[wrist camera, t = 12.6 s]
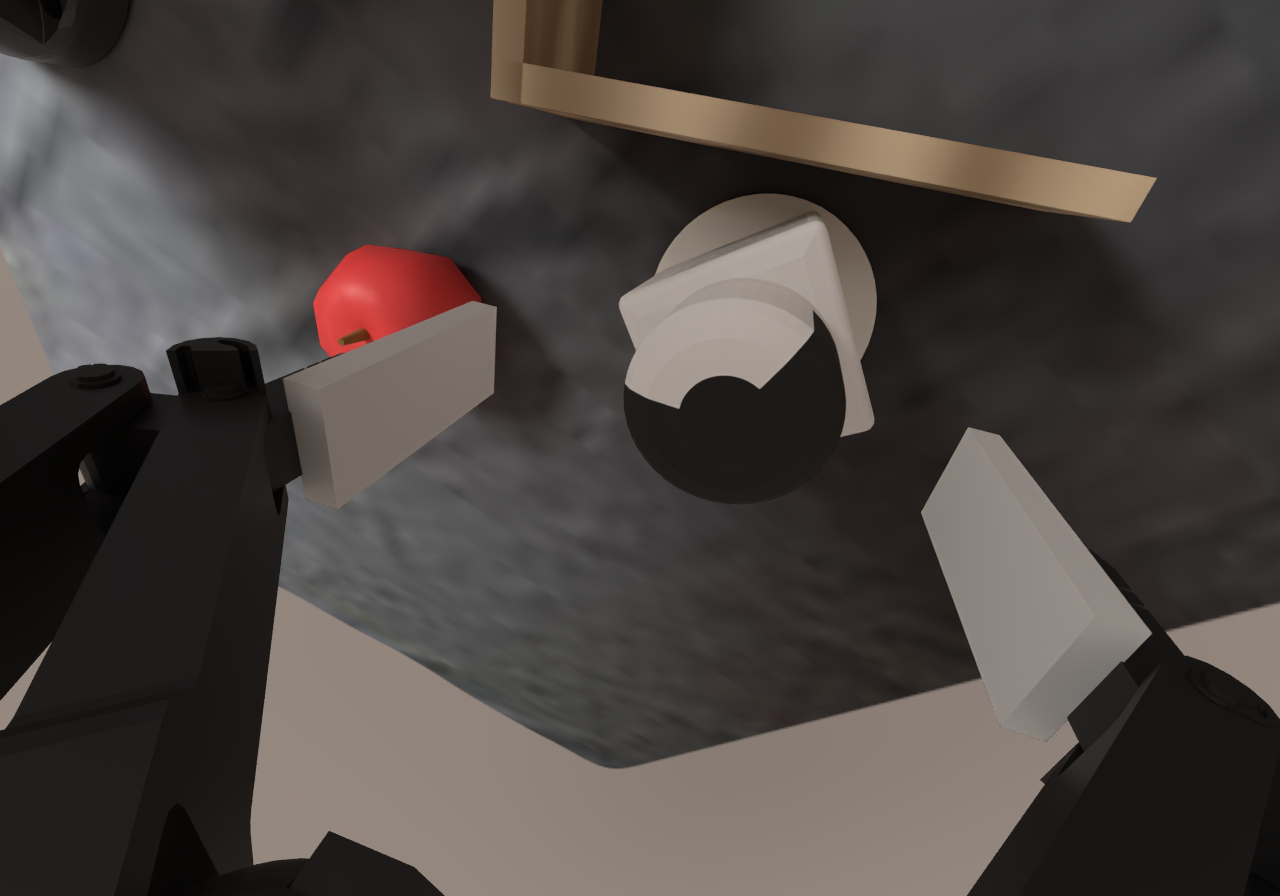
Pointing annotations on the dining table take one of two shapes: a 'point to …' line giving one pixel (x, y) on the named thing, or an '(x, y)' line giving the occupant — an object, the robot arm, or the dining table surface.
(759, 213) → the trivet
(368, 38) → the dining table surface
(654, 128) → the tan open-ended frame
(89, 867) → the robot arm
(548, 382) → the dining table surface
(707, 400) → the container
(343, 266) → the apple
